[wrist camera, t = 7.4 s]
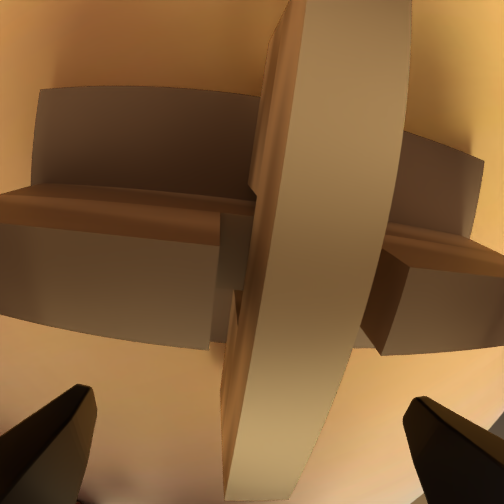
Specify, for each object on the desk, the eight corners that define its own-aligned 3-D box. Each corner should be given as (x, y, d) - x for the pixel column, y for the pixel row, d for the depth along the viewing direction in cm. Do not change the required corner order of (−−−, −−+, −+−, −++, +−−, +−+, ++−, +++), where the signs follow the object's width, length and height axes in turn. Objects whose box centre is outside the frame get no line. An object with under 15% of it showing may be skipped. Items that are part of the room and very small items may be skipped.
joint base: (425, 336, 13) (499, 417, 7) (48, 306, 11) (-30, 398, 5) (472, 159, 11) (585, 181, 5) (51, 92, 8) (-66, 67, 3)
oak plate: (266, 392, 12) (288, 499, 7) (220, 389, 12) (224, 500, 7) (327, 55, 8) (410, -8, 4) (269, 43, 8) (312, -43, 3)
